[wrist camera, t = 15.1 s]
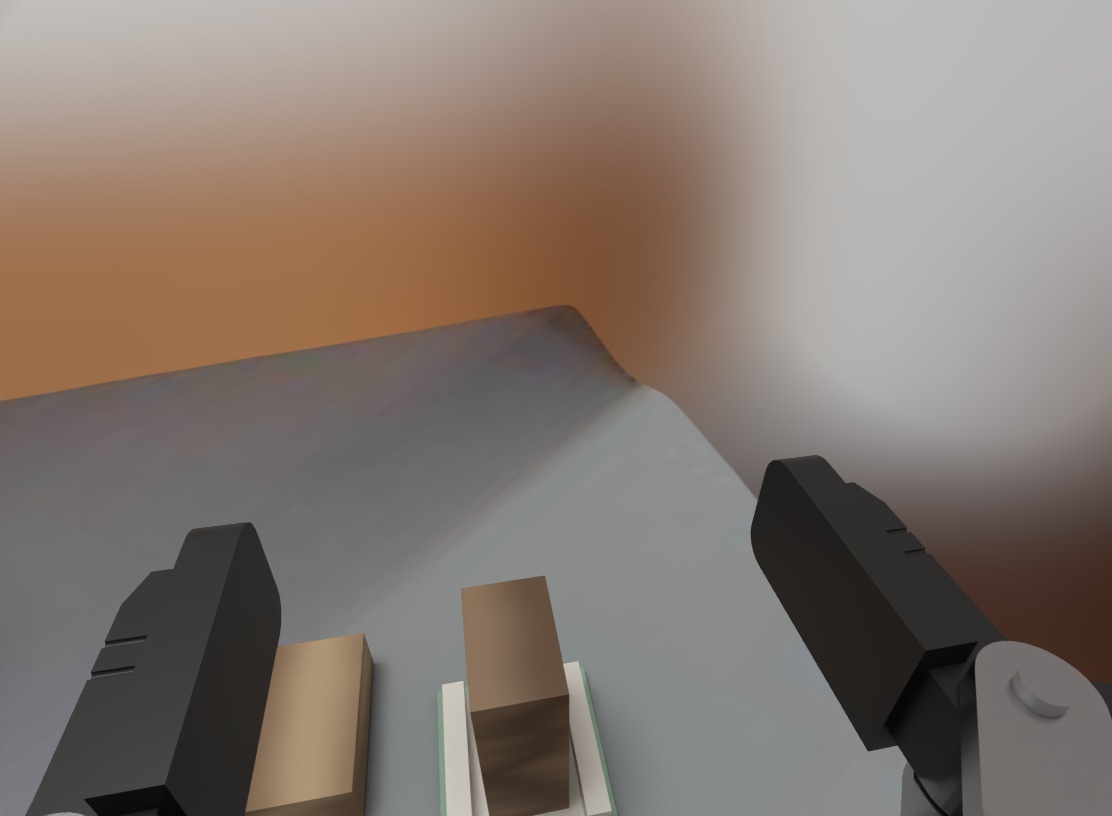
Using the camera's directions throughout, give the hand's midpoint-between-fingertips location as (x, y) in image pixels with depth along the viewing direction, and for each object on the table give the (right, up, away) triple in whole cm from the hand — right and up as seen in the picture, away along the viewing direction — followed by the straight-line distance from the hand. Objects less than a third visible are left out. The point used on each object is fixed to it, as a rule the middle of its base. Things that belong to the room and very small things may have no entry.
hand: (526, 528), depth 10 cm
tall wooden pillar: (-1, -17, +24) cm, 30 cm away
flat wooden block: (-16, -17, +26) cm, 35 cm away
